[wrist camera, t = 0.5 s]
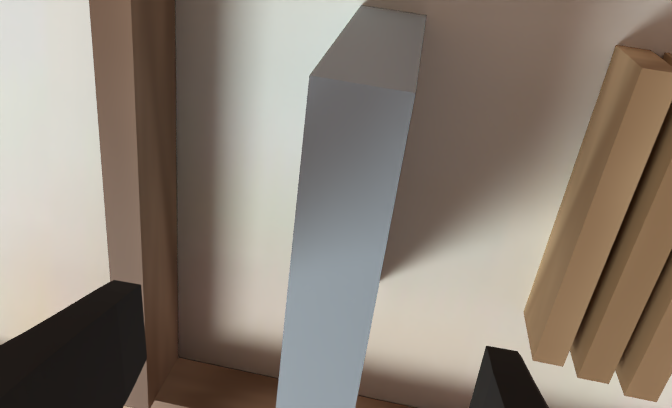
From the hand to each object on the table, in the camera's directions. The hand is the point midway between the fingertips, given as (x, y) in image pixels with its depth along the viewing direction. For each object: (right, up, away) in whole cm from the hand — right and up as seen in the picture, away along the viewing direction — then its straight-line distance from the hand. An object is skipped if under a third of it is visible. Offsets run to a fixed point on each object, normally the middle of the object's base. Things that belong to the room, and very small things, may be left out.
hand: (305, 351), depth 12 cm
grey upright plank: (+2, +5, +8) cm, 10 cm away
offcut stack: (+10, +3, +8) cm, 13 cm away
